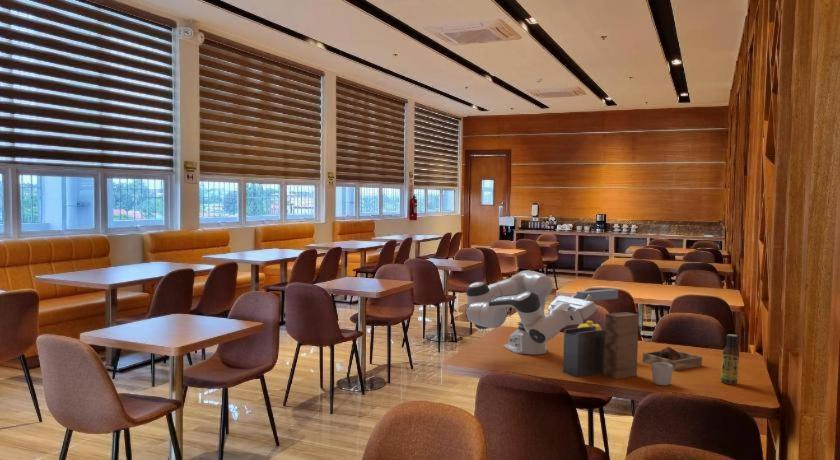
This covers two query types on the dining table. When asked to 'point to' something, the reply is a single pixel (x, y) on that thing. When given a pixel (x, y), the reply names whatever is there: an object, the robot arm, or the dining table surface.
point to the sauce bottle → (730, 361)
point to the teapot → (590, 323)
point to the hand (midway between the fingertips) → (585, 295)
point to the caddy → (683, 363)
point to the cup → (662, 373)
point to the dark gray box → (583, 351)
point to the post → (621, 345)
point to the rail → (599, 294)
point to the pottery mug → (668, 353)
